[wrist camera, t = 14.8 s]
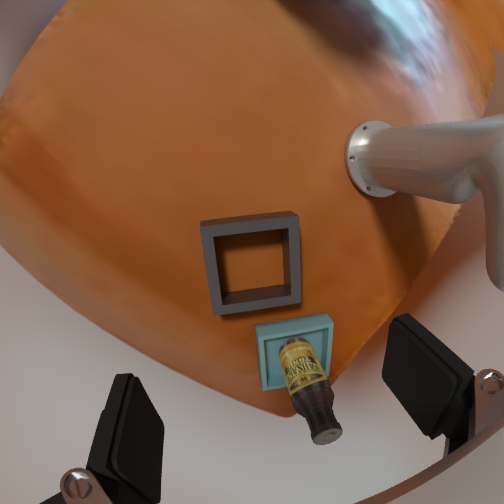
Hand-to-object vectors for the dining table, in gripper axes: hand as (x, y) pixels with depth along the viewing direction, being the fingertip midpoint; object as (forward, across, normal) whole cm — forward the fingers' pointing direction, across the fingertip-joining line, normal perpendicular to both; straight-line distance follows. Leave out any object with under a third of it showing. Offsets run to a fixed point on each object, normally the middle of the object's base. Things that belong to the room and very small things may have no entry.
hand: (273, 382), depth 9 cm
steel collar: (+32, -3, +7) cm, 33 cm away
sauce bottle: (+32, -8, +25) cm, 41 cm away
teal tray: (+32, -8, +25) cm, 42 cm away
